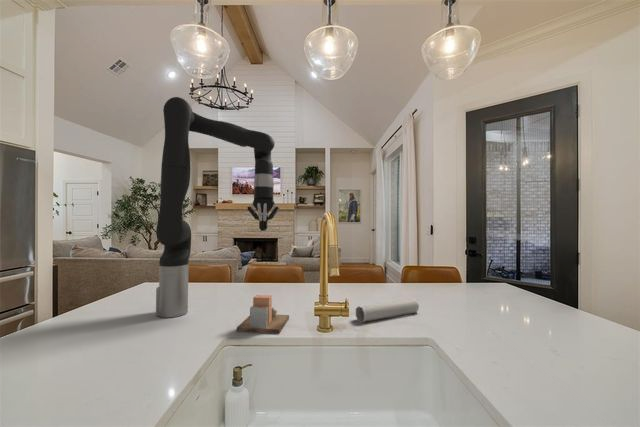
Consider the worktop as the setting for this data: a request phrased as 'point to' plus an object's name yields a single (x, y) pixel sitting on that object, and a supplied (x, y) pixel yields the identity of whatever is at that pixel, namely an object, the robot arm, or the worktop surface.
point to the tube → (386, 310)
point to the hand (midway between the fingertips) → (263, 230)
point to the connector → (259, 317)
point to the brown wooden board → (273, 327)
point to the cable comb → (274, 311)
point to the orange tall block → (264, 303)
